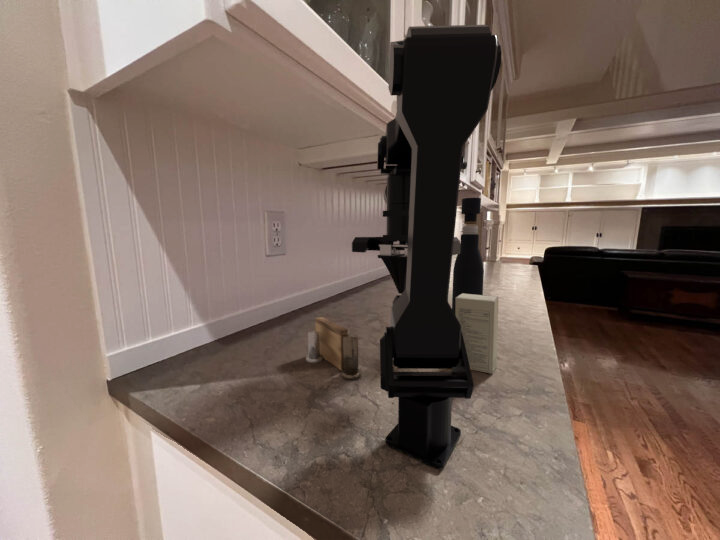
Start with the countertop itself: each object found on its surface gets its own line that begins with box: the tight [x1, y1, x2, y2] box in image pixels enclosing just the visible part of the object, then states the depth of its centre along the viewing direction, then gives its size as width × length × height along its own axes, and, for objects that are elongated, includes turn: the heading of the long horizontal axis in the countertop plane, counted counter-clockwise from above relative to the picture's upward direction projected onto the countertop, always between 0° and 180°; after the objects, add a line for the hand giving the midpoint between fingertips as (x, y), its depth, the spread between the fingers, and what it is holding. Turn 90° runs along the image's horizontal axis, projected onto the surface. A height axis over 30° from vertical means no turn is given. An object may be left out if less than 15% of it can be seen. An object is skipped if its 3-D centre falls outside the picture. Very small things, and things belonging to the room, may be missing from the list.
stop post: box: [305, 330, 324, 364], centre depth 52 cm, size 3×3×5 cm
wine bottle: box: [451, 197, 485, 314], centre depth 65 cm, size 6×6×30 cm
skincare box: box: [455, 293, 499, 375], centre depth 49 cm, size 6×4×12 cm
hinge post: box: [340, 333, 362, 381], centre depth 47 cm, size 3×3×6 cm
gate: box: [314, 316, 349, 371], centre depth 52 cm, size 9×1×7 cm, turn 35°
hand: (402, 293), depth 52 cm, fingers closed
